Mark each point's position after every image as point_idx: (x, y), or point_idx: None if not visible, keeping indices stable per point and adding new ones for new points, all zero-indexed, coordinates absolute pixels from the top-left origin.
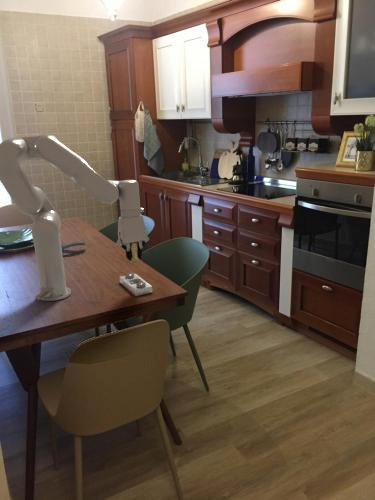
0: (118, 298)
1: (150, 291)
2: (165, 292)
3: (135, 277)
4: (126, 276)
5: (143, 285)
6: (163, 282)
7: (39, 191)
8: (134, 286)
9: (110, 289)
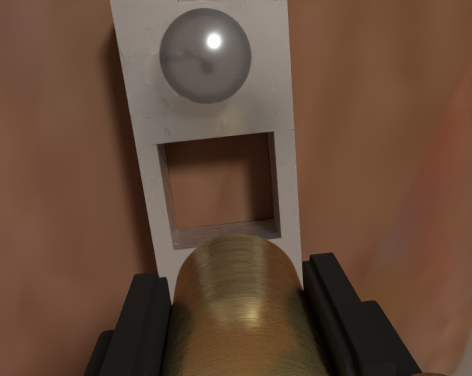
0: (60, 317)
1: None
2: None
3: (251, 99)
4: (167, 79)
5: None
6: (442, 174)
7: None
8: None
9: (21, 134)
